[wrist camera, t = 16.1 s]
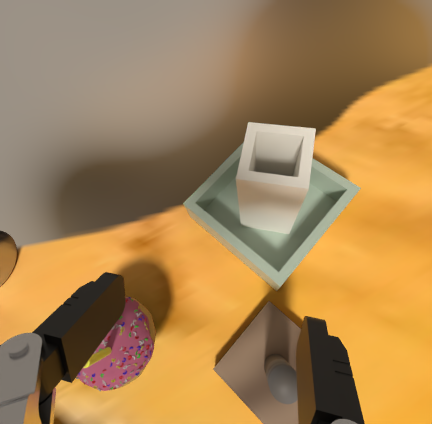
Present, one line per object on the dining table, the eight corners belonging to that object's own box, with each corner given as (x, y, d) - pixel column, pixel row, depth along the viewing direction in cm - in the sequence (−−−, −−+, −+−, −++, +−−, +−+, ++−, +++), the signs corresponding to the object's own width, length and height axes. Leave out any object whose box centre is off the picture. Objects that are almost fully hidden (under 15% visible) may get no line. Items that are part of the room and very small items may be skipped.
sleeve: (240, 226, 33) (235, 178, 22) (249, 184, 35) (248, 122, 24) (289, 234, 32) (308, 188, 21) (294, 190, 34) (315, 128, 23)
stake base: (214, 367, 29) (199, 386, 20) (268, 301, 31) (274, 294, 22) (283, 441, 26) (299, 500, 17) (338, 363, 28) (377, 382, 19)
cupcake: (182, 331, 31) (143, 337, 20) (130, 400, 29) (55, 449, 18) (130, 284, 33) (71, 265, 22) (80, 343, 31) (-13, 355, 20)
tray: (190, 217, 36) (183, 203, 31) (259, 146, 38) (260, 125, 34) (276, 291, 31) (280, 286, 27) (347, 204, 34) (360, 188, 30)
